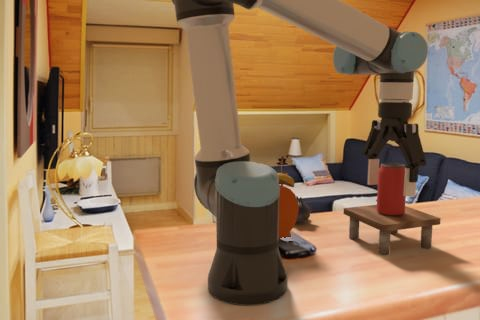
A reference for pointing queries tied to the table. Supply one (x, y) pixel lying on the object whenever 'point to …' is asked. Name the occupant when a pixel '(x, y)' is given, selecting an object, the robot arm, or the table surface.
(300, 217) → the frog
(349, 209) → the peg shelf
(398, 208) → the beer can
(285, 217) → the alarm clock
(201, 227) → the table surface
